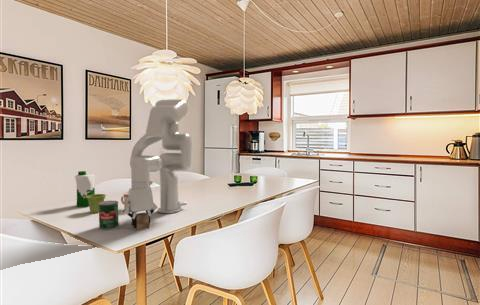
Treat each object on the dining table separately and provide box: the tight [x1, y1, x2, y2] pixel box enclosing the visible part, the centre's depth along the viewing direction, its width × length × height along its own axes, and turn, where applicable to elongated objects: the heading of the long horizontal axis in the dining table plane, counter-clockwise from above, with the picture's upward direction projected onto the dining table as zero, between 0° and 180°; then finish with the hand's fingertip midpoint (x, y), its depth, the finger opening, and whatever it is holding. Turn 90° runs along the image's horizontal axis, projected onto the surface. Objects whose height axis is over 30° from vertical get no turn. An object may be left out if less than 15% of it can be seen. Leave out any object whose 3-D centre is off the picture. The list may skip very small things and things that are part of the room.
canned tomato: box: [98, 200, 120, 231], centre depth 125 cm, size 8×8×11 cm
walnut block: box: [134, 211, 150, 231], centre depth 123 cm, size 5×5×6 cm
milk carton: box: [74, 170, 96, 208], centre depth 164 cm, size 9×9×20 cm
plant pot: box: [86, 193, 107, 214], centre depth 150 cm, size 9×9×9 cm
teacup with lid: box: [120, 191, 131, 212], centre depth 155 cm, size 12×9×12 cm
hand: (141, 225), depth 124 cm, fingers closed on walnut block, 5 cm apart
